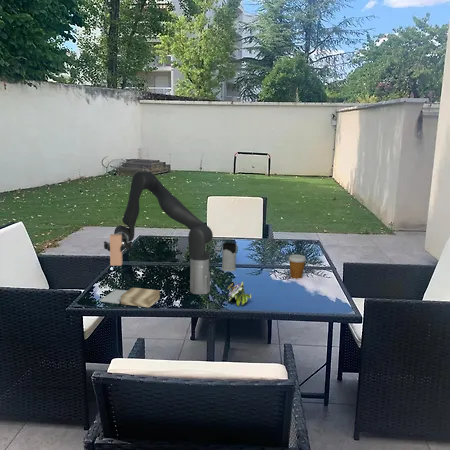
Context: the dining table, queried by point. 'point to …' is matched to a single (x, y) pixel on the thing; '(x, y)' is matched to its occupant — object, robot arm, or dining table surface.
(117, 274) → the dining table surface
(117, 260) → the tall tan block
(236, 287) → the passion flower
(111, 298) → the mat
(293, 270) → the disposable coffee cup
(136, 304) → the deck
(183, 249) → the dining table surface
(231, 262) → the glass holder
